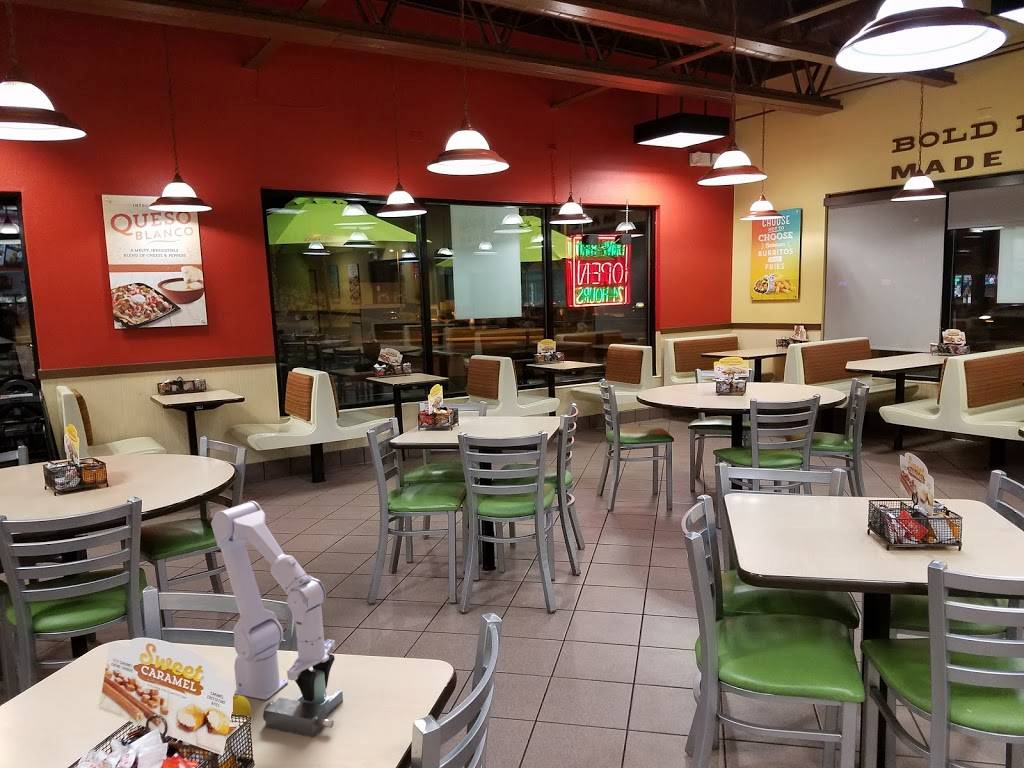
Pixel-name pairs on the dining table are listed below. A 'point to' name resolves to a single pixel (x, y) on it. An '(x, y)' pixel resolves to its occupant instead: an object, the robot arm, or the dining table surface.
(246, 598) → the robot arm
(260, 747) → the dining table surface
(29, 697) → the dining table surface
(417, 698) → the dining table surface
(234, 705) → the lemon
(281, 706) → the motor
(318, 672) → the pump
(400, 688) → the dining table surface
